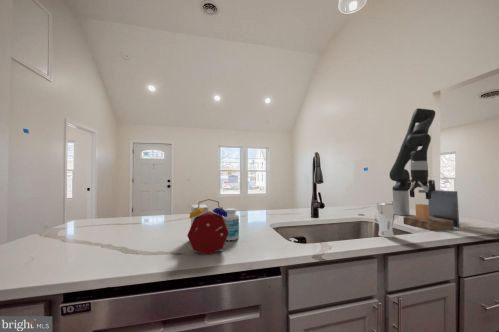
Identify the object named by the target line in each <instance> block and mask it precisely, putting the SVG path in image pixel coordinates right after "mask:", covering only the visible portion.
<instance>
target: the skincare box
mask: <svg viewBox="0 0 499 332" xmlns="http://www.w3.org/2000/svg"><path fill="white" fill-rule="evenodd" d="M190 207H191V208H190V209H191V211H190V213H191V212H192V211H194V208H195V209H196V208H197V207H198V204H192V205H190ZM206 207H207V209H206V210H205V212H203V213H201V214H200V215H202V214H204V213H206V212H208V211H209V206H208V205H206V204H205V203H204V204H203V203H202V204H200V205H199V208H197V209H200V208H202V209H203V210H204V209H205V208H206ZM198 216H199V215H198ZM195 217H197V216H195ZM195 217H193V218H190V226H191V225H192V223H193V221H194V219H195Z"/></svg>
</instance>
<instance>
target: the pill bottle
mask: <svg viewBox="0 0 499 332" xmlns="http://www.w3.org/2000/svg"><path fill="white" fill-rule="evenodd" d="M225 211H226V212H227V216H228V217H224V216H223V219H224V221H225V223H226V226H227V228H228V233H229V234H228V236H227V239H226V240H229V241H228V242H231V241H230V240H234V241H236V239H237V240H238V239H239V238H240V215H239V214H238V213H237V208H231V207H230V208H225Z"/></svg>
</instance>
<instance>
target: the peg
mask: <svg viewBox="0 0 499 332" xmlns="http://www.w3.org/2000/svg"><path fill="white" fill-rule="evenodd" d="M415 216H416V219H420V220H430V219H429V204H424V203H422V204H421V203H417V204H416V203H415Z"/></svg>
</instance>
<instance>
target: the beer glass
mask: <svg viewBox="0 0 499 332" xmlns="http://www.w3.org/2000/svg"><path fill="white" fill-rule="evenodd" d="M375 209H376V212H375V213H376V218H377V219H376V220H377V223H378V236H379V237H381V238H388V239H389V238H390V239H391V238H395V234H394V231H393V230H394V228H393V227H394V221H395V214H394V207H393V204H392V203H387V202H377V203H376V208H375Z"/></svg>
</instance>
